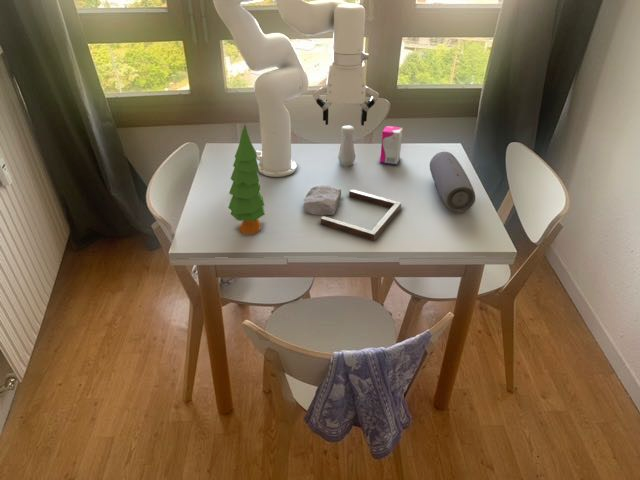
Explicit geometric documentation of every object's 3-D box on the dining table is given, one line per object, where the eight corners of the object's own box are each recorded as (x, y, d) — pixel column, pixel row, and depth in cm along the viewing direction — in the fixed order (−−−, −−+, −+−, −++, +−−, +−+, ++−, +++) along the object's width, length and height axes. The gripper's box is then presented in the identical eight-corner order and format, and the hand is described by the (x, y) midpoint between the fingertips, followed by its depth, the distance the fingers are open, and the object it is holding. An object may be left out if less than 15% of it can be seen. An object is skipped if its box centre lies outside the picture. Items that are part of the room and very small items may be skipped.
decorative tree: (267, 236, 131) (259, 128, 114) (231, 240, 129) (218, 131, 112) (264, 217, 138) (256, 114, 121) (230, 220, 137) (217, 116, 120)
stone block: (302, 218, 141) (336, 216, 139) (299, 203, 139) (333, 201, 136) (312, 199, 151) (343, 197, 148) (308, 185, 149) (341, 182, 146)
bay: (320, 224, 136) (320, 218, 135) (351, 194, 149) (351, 189, 148) (373, 241, 129) (374, 234, 128) (400, 208, 143) (401, 202, 142)
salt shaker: (344, 158, 170) (345, 122, 163) (358, 162, 168) (360, 126, 160) (334, 164, 166) (335, 127, 159) (348, 168, 164) (350, 131, 156)
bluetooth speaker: (474, 216, 140) (480, 184, 134) (441, 216, 140) (446, 185, 134) (454, 178, 158) (459, 149, 153) (425, 178, 158) (429, 149, 153)
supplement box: (400, 158, 170) (403, 127, 164) (396, 166, 166) (399, 133, 159) (383, 156, 172) (386, 124, 165) (379, 163, 167) (382, 131, 161)
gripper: (380, 55, 127) (375, 118, 137) (313, 53, 127) (312, 117, 137) (383, 63, 121) (377, 129, 131) (312, 62, 121) (312, 128, 131)
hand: (344, 123), depth 134 cm, fingers open, 9 cm apart
